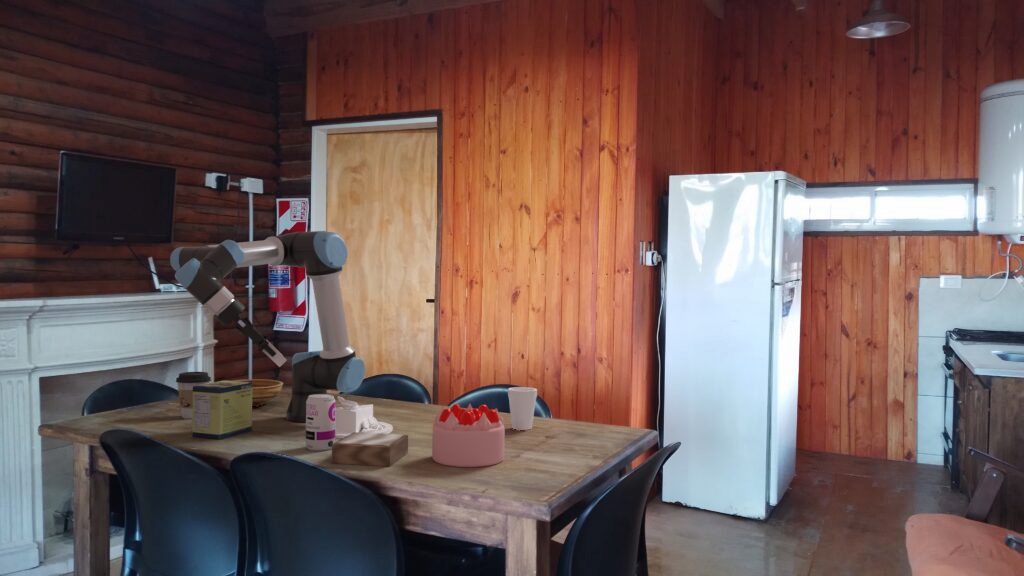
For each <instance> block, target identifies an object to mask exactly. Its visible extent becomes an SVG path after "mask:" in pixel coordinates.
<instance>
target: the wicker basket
mask: <svg viewBox="0 0 1024 576" xmlns="http://www.w3.org/2000/svg"><path fill="white" fill-rule="evenodd" d="M232 381H243V382H253V383H252V406H256V407H260V406H259V405H262V406H264V405H263V404H265V405H266V403H267V402H268V401H270V400H272V399H275V398H277V396H278V395H280V393H281V392H282V389H283V386H284V382H282V381H280V380H274V379H266V378H265V379H261V378H260V379H259V378H258V379H257V378H255V379H254V378H253V379H250V378H249V379H235V380H232Z"/></svg>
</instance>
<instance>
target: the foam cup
mask: <svg viewBox="0 0 1024 576" xmlns="http://www.w3.org/2000/svg"><path fill="white" fill-rule="evenodd" d="M507 396H508V400H509V401H508V402H509V413H510V420H511V429H512V428H513V429H512V430H514V429H516V430H515V431H520V430H525V431H527V430H526V429H531V428H532V427H533V423H534V415H535V409H536V402H537V397H538V388H534V387H530V386H529V387H525V386H517V387H516V386H514V387H509V388H508V389H507ZM531 430H532V429H531Z"/></svg>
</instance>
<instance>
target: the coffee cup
mask: <svg viewBox="0 0 1024 576" xmlns="http://www.w3.org/2000/svg"><path fill="white" fill-rule="evenodd" d="M175 379H176V380H175V383H177V391H178V398H179V405H180V406H179V407H180V415H181V418H182V419H186V420H191V419H192V420H193V386H196V385H202V384H208V383H211V381H212V378H211V376H209V372H207V371H185V372H179V373H178V377H176V378H175Z"/></svg>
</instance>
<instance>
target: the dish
mask: <svg viewBox="0 0 1024 576" xmlns="http://www.w3.org/2000/svg"><path fill="white" fill-rule="evenodd" d="M336 397H337V400H338V401H339V402H340V404H341V405H342V407H335V439H339V440H341V439H343V438H344V437H346V436H348V435H350V434H352V433H354V432H359V433H379V434H392V433H391V432H393V431H394V426H393V425H392V424H390V423H387V422H384V421H378V420H377V418H376V417H374V404H363V405H359V403H358V402H356V401H354V400H351V399H350V400H349V399H345V398H343V397H342V396H339V395H338V396H336Z"/></svg>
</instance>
